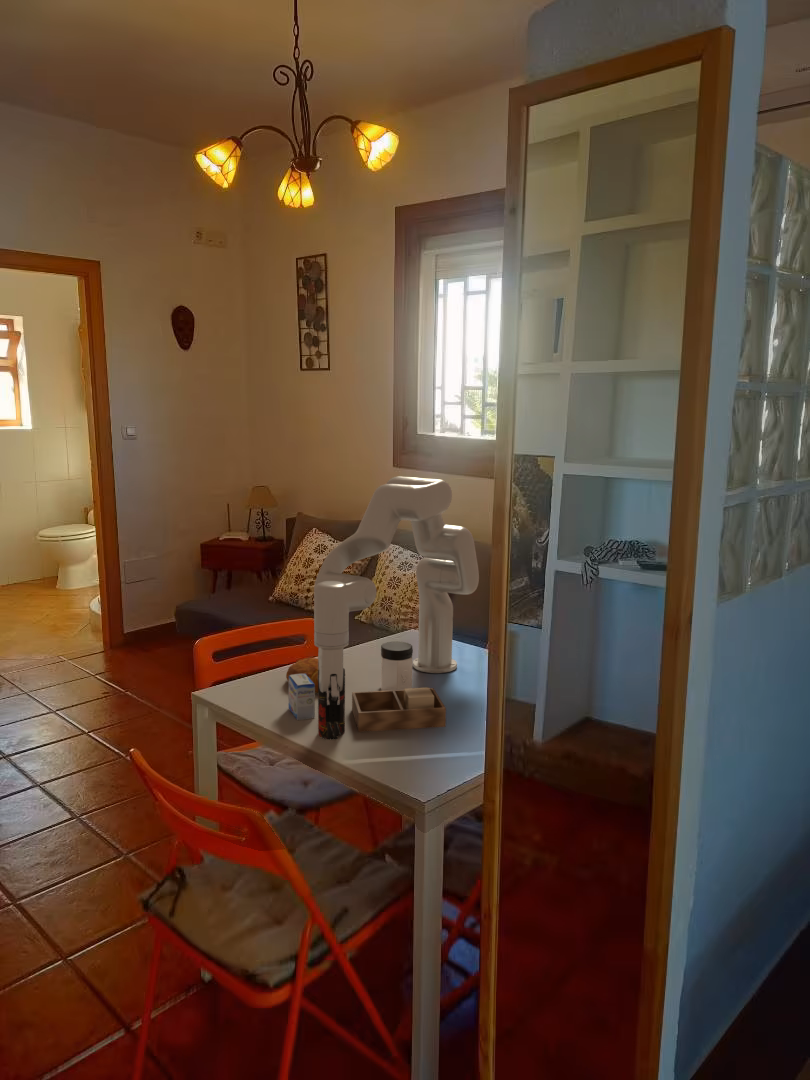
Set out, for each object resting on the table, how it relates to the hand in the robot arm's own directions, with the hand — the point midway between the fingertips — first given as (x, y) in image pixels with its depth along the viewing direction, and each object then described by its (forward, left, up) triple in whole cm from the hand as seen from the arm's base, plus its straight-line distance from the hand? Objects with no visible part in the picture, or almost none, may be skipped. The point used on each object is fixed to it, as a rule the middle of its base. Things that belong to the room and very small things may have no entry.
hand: (331, 714), depth 176 cm
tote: (-6, +16, -5) cm, 18 cm away
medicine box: (-13, -6, -5) cm, 15 cm away
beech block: (-6, +21, -4) cm, 22 cm away
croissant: (-32, -1, -5) cm, 33 cm away
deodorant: (0, 0, -5) cm, 5 cm away
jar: (-25, +19, -5) cm, 32 cm away
